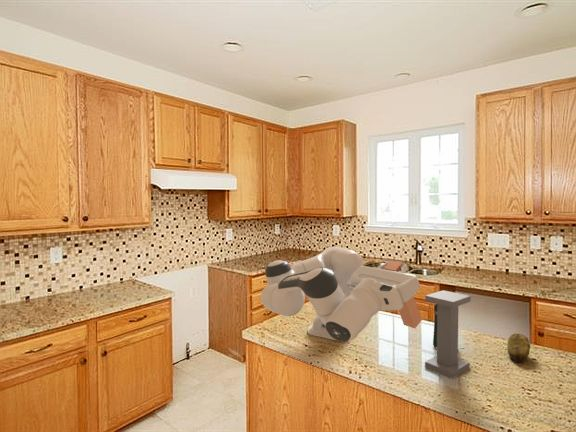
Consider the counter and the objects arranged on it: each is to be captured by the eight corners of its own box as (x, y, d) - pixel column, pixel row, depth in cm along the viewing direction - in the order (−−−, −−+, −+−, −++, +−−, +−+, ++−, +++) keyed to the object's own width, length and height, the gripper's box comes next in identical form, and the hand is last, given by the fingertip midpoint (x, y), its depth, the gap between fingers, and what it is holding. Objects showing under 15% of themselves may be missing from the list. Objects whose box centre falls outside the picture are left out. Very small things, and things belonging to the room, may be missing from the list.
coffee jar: (449, 353, 131) (450, 306, 130) (430, 347, 137) (430, 302, 136) (460, 346, 137) (461, 301, 136) (441, 340, 143) (441, 297, 142)
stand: (452, 378, 112) (453, 302, 111) (424, 367, 120) (425, 295, 119) (469, 368, 119) (470, 295, 118) (442, 357, 127) (443, 290, 126)
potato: (499, 358, 126) (499, 337, 126) (511, 349, 134) (511, 329, 134) (525, 366, 120) (525, 344, 119) (536, 356, 128) (536, 335, 128)
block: (395, 270, 96) (402, 262, 98) (383, 268, 100) (391, 260, 102) (415, 328, 103) (421, 320, 105) (403, 324, 106) (410, 316, 108)
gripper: (347, 294, 103) (373, 268, 110) (406, 311, 86) (431, 279, 93) (340, 278, 101) (366, 252, 108) (398, 292, 84) (425, 260, 91)
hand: (397, 264), depth 100 cm, fingers closed on block, 4 cm apart
